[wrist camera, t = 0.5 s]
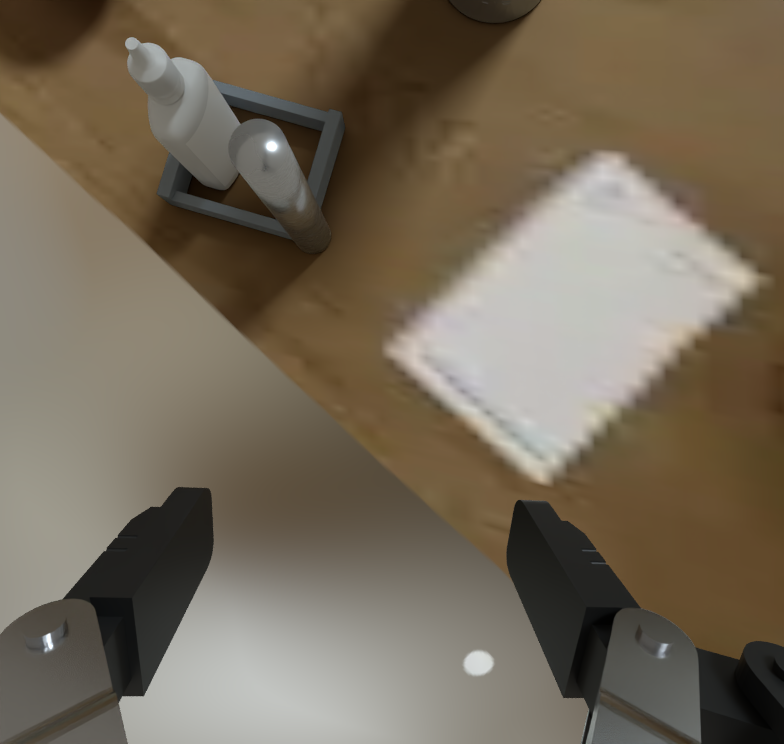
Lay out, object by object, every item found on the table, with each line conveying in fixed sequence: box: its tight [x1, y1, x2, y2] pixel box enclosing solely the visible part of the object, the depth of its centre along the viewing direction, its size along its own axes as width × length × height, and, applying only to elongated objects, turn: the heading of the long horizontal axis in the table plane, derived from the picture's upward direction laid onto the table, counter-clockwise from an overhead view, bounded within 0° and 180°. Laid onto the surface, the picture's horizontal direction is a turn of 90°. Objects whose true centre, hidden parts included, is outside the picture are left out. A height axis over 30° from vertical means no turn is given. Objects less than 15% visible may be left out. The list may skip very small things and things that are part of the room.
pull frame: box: [157, 80, 345, 254], centre depth 28 cm, size 11×14×13 cm
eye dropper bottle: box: [125, 37, 241, 190], centre depth 29 cm, size 4×6×12 cm
